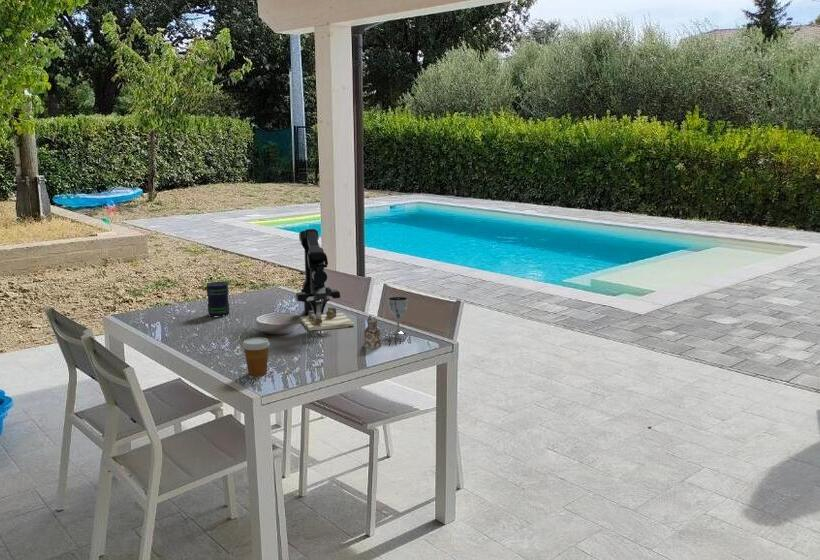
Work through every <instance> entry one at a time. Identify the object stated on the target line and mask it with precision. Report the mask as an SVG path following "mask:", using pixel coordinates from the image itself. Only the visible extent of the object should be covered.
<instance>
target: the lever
mask: <svg viewBox="0 0 820 560" xmlns="http://www.w3.org/2000/svg"><path fill="white" fill-rule="evenodd" d="M321 304H322V302H321V300H319V301H316V302H315V306H316V315H315V314H314V311H309V315H308V316H309V318H312V319H313V320H314V321H315V322H316V323H317V324H320V323H322V319H321Z"/></svg>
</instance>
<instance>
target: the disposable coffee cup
mask: <svg viewBox="0 0 820 560" xmlns="http://www.w3.org/2000/svg"><path fill="white" fill-rule="evenodd" d="M270 345H271V343H270V342H269V339H268V338H266V337H251V338H250V337H249V338H247V339H245V340H244V341H243V343H242V348H243V349H244V356H245V362H246V367H247V372H248V375H249V376H252V377H261V376H263V375H266V374H267V371H268V358H269V347H270Z"/></svg>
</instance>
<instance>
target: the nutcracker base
mask: <svg viewBox="0 0 820 560" xmlns="http://www.w3.org/2000/svg"><path fill="white" fill-rule="evenodd" d="M299 319H301V320H300V322H301V323H302V324H303V325H304V326H305V328H306V329H307V331H321V330H329V329H330V330H331V329H340V328H341V329H342V328H350V327H349V326H354V327H355V323H354V322H353V320H351V319H350V318H349V317H348V316H347V315H345V313H344V312H341V313H337V308H336V306H327V311H326V313H325V314H322V315H321V319H322V323H320V324H317V323H316V322H315V321H314V320H313V319H312V318H309V315H305V316H300V317H299Z"/></svg>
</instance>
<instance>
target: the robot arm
mask: <svg viewBox="0 0 820 560" xmlns="http://www.w3.org/2000/svg"><path fill="white" fill-rule="evenodd" d="M298 237H299V238H298V240H299V242H300V244H301V246H302V248H303V250H304V276H305V278H304V281H303V283H302V285H301V289H300V292H299V291H298V292H296V293H295V300H296V302H301V303H303V308H304V309H303V311H302V313H303V315H305V316H309V311H314V314H315V315H316V306H315V302H316V301H321V302H322V304H321V315H324V311H325V307H326V304H327V303H328V302H329V301H331V299H330V298H331V297H332V299H340V298H341V292H340V291H339V290H338V289H332V288H331V287H330V286H327V287H326V286H325V283H326V282H327V281H328V275H327V273H326V271H325V268H328V266H329V262H328V261H329V260H328V255H327V254H326V252H325V251H324V249H323V247H321V246H320V243H319V240H320V235H319V230H317V229H315V228H306V229H304V230H302V231H300V232H299V234H298Z"/></svg>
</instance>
